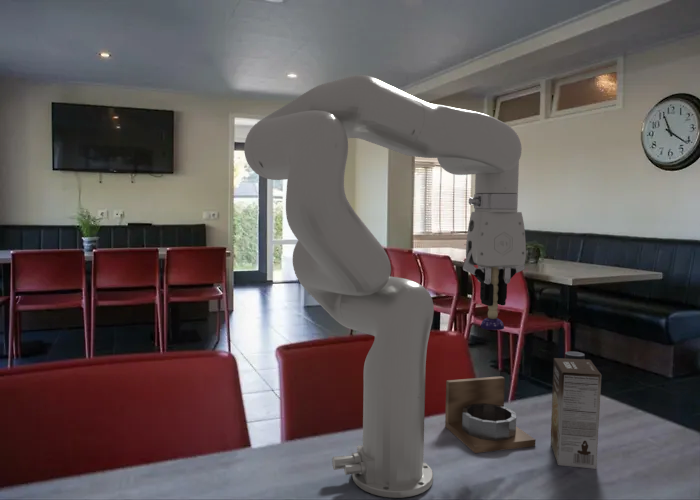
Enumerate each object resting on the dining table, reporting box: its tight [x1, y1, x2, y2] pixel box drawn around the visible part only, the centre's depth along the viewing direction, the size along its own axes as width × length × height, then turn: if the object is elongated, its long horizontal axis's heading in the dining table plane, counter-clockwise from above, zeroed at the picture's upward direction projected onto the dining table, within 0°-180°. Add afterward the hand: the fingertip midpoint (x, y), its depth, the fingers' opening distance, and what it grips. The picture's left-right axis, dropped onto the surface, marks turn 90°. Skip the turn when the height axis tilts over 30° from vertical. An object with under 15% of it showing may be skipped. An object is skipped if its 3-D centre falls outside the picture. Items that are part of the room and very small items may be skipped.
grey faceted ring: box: [462, 403, 517, 441], centre depth 102 cm, size 10×10×3 cm
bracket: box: [444, 376, 536, 454], centre depth 102 cm, size 12×12×9 cm
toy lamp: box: [480, 267, 505, 331], centre depth 101 cm, size 5×5×17 cm
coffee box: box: [550, 357, 602, 470], centre depth 94 cm, size 9×6×16 cm
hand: (493, 303), depth 101 cm, fingers closed on toy lamp
